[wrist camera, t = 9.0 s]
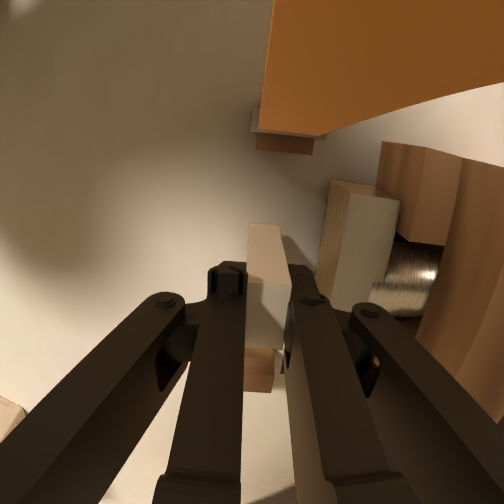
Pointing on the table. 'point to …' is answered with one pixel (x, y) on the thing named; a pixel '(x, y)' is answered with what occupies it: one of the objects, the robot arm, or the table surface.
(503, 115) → the table surface
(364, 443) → the robot arm
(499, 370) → the hitch block
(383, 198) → the pin
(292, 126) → the bar
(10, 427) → the ink box
